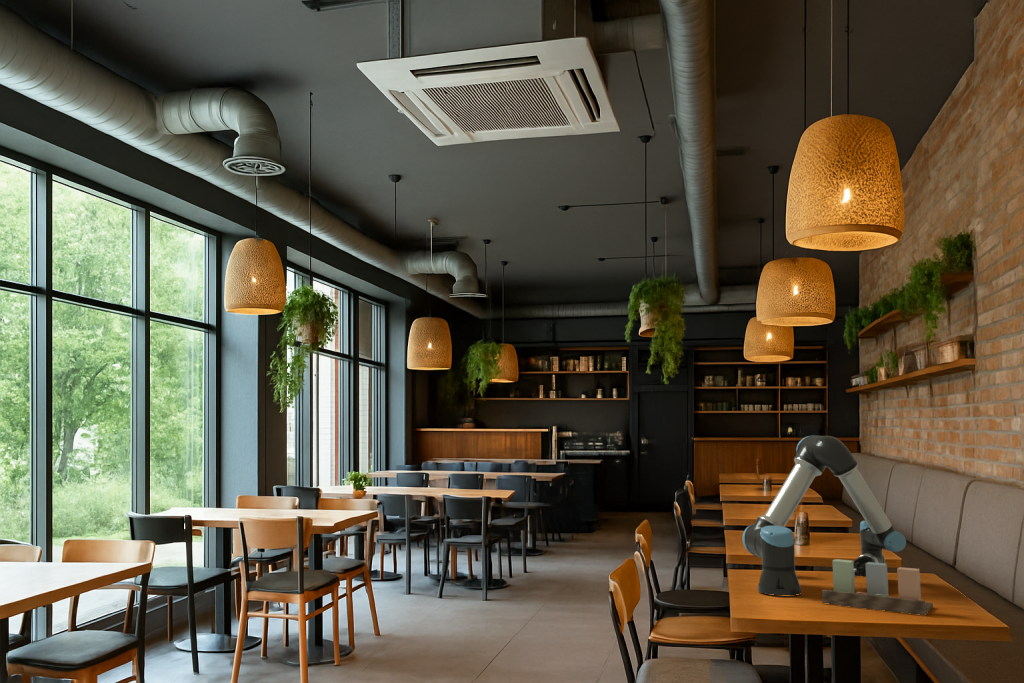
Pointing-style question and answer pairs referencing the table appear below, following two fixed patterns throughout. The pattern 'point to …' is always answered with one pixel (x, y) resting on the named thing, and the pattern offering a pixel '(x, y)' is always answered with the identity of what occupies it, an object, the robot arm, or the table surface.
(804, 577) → the table surface
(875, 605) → the keypad console
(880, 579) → the blue-grey upright slab
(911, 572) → the terracotta key
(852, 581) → the pale green upright slab
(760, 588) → the robot arm
